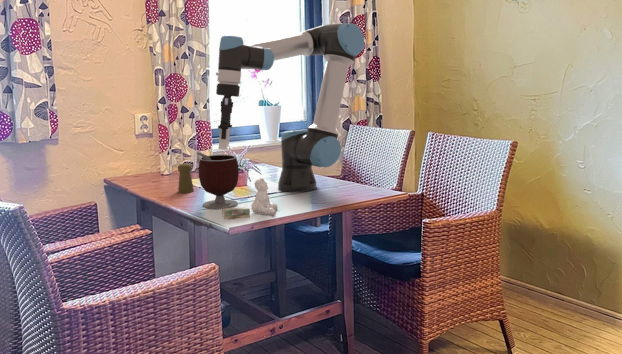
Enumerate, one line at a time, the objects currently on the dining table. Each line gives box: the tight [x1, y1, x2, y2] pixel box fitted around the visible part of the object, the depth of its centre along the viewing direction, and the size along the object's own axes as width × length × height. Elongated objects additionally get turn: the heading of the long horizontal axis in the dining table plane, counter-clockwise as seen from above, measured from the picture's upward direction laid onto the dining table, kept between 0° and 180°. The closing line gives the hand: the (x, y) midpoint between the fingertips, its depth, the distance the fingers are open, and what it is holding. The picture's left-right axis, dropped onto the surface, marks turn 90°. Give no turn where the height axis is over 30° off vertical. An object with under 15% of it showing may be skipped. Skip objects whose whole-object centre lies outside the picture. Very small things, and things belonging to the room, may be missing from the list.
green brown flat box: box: [221, 206, 251, 220], centre depth 208 cm, size 8×11×3 cm
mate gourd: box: [196, 152, 239, 210], centre depth 219 cm, size 16×14×20 cm
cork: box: [177, 162, 195, 194], centre depth 245 cm, size 6×6×11 cm
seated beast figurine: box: [250, 177, 278, 217], centre depth 209 cm, size 10×9×12 cm
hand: (223, 148), depth 209 cm, fingers open, 13 cm apart
